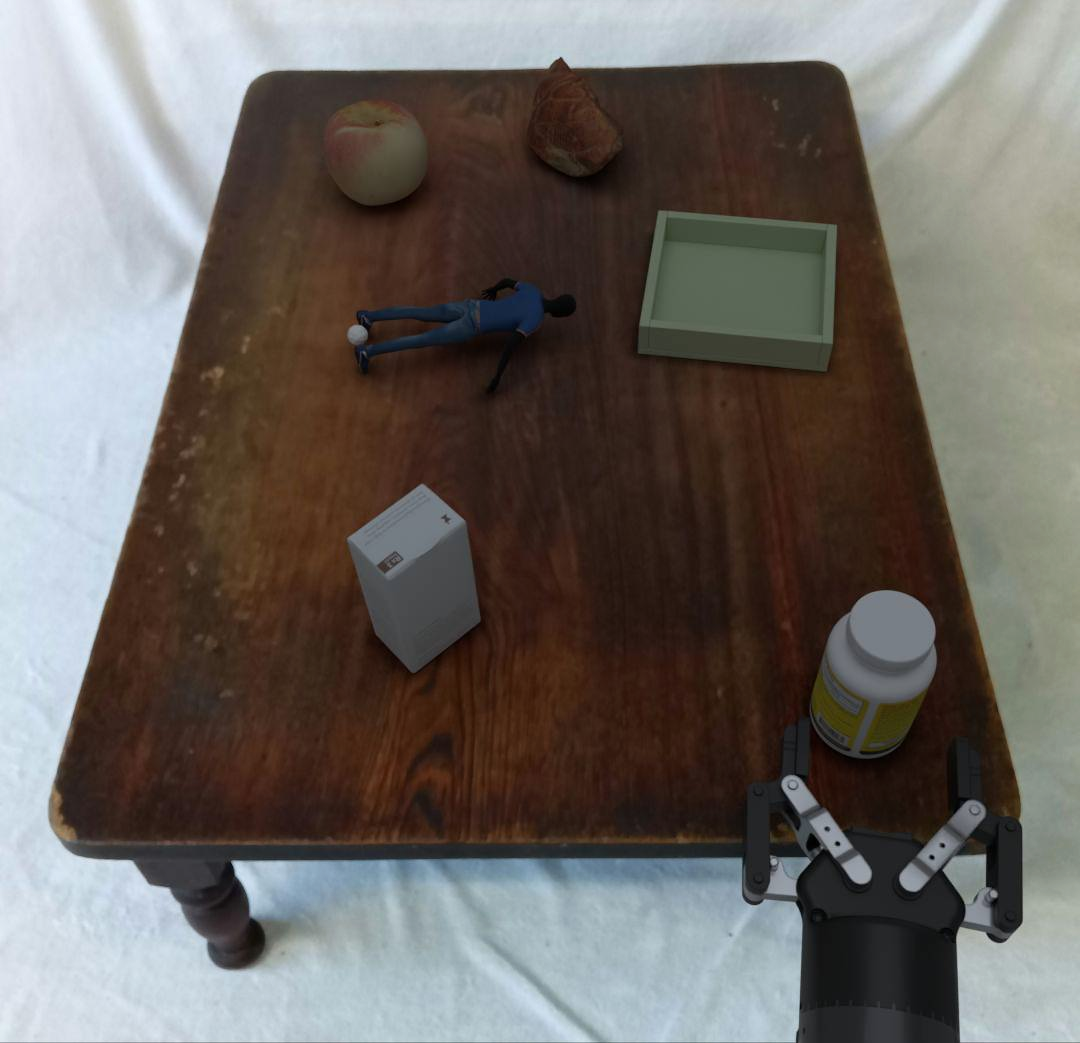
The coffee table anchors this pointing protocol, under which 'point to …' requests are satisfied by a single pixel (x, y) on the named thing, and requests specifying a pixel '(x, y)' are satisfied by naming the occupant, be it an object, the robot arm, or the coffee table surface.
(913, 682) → the pill bottle
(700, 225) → the tray
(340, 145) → the apple
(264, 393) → the coffee table surface
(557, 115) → the fossil
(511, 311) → the person figurine
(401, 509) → the cosmetic box
